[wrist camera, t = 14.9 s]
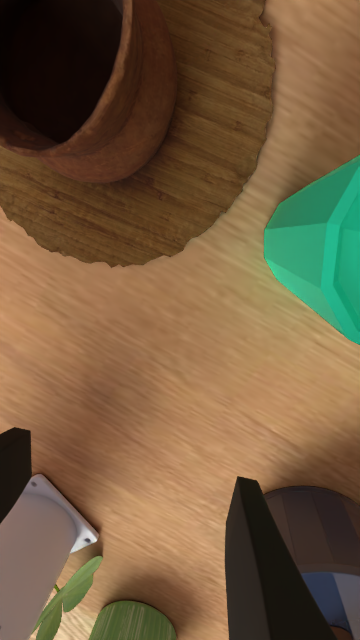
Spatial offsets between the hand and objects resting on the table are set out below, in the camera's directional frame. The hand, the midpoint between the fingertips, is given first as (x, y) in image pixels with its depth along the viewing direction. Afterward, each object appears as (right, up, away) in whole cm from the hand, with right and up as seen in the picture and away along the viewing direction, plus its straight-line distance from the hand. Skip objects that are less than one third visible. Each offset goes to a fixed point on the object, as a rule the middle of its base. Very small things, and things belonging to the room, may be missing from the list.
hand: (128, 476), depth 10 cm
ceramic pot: (-2, +17, +6) cm, 18 cm away
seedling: (-9, -17, +18) cm, 26 cm away
